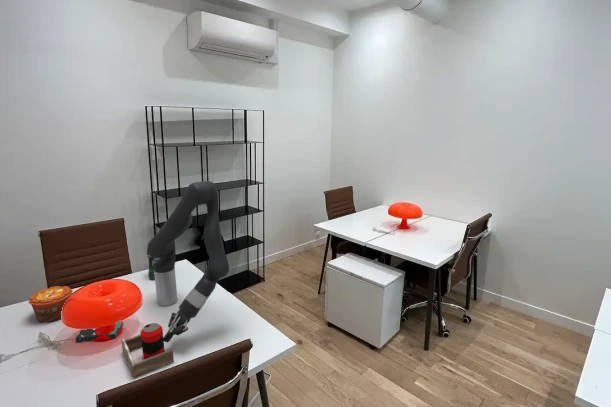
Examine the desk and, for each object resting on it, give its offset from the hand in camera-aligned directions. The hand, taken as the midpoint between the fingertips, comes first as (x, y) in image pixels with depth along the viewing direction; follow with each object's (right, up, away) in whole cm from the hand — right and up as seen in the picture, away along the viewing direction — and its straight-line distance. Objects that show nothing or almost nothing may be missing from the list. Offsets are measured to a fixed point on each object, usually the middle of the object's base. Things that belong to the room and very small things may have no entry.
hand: (165, 341), depth 134 cm
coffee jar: (-29, +11, +62) cm, 69 cm away
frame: (-5, -5, -2) cm, 8 cm away
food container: (-60, +2, +24) cm, 65 cm away
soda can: (-4, -5, -1) cm, 6 cm away
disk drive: (-32, -2, +12) cm, 34 cm away
